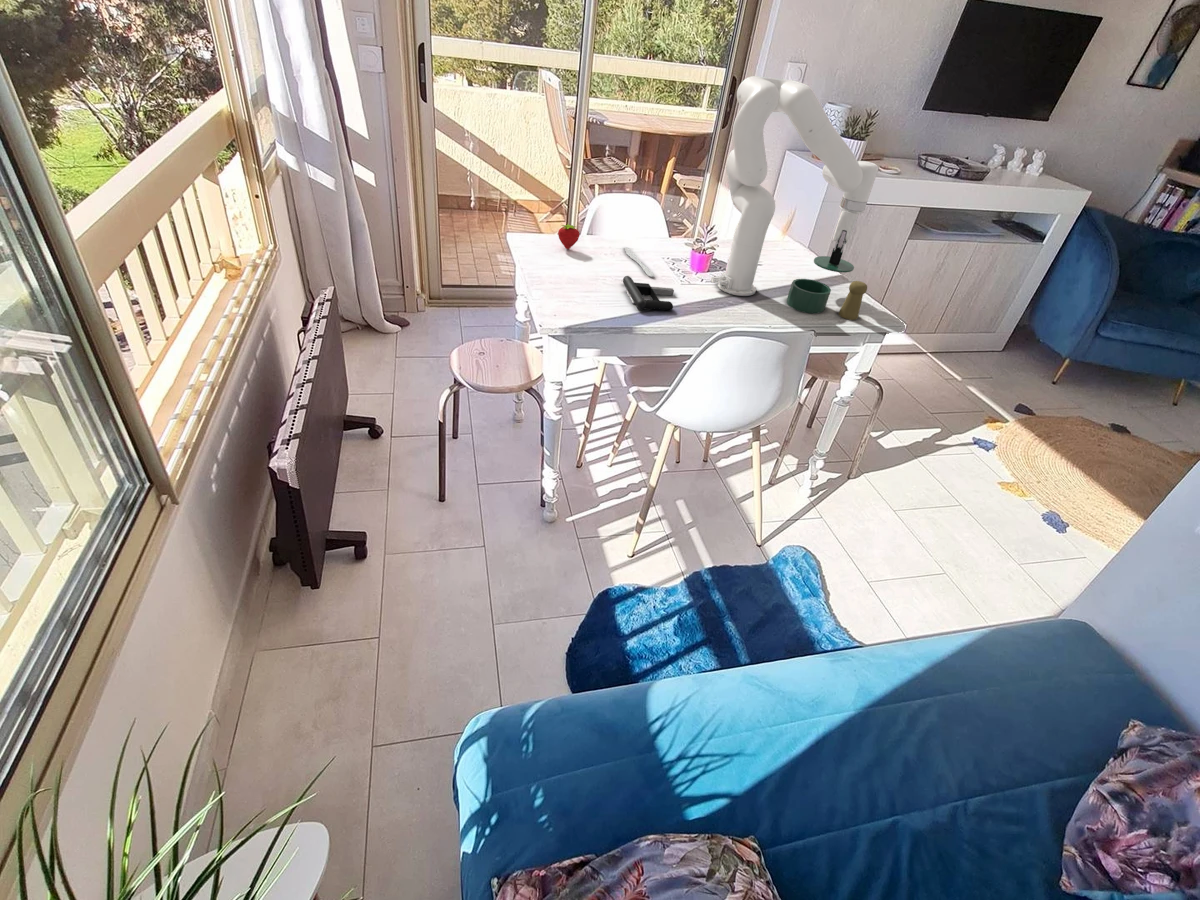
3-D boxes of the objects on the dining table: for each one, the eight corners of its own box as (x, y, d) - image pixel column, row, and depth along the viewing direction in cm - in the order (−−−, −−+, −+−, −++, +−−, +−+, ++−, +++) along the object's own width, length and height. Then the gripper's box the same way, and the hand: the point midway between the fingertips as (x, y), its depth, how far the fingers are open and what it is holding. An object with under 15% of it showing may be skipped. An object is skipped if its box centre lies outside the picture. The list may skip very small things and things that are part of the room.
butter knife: (647, 276, 205) (655, 275, 206) (621, 247, 226) (629, 247, 226) (647, 277, 206) (655, 277, 206) (621, 249, 226) (629, 249, 227)
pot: (800, 314, 195) (807, 294, 191) (779, 298, 203) (785, 279, 200) (831, 312, 199) (838, 293, 195) (809, 296, 207) (815, 278, 204)
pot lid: (828, 275, 200) (835, 256, 196) (805, 260, 210) (810, 241, 206) (861, 273, 204) (867, 254, 201) (836, 259, 214) (842, 240, 210)
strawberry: (578, 253, 217) (580, 224, 211) (556, 251, 217) (558, 222, 211) (578, 247, 222) (581, 219, 216) (557, 245, 221) (559, 216, 215)
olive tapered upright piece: (858, 321, 195) (871, 287, 189) (839, 317, 196) (851, 284, 189) (856, 313, 200) (868, 280, 193) (837, 310, 201) (848, 277, 194)
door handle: (667, 278, 200) (619, 274, 196) (687, 305, 185) (635, 301, 181) (665, 288, 202) (617, 284, 198) (684, 315, 187) (633, 312, 183)
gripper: (842, 196, 202) (824, 252, 213) (838, 208, 190) (820, 267, 201) (866, 201, 201) (847, 257, 211) (864, 213, 188) (844, 272, 199)
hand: (834, 261), depth 206 cm, fingers closed on pot lid, 2 cm apart
